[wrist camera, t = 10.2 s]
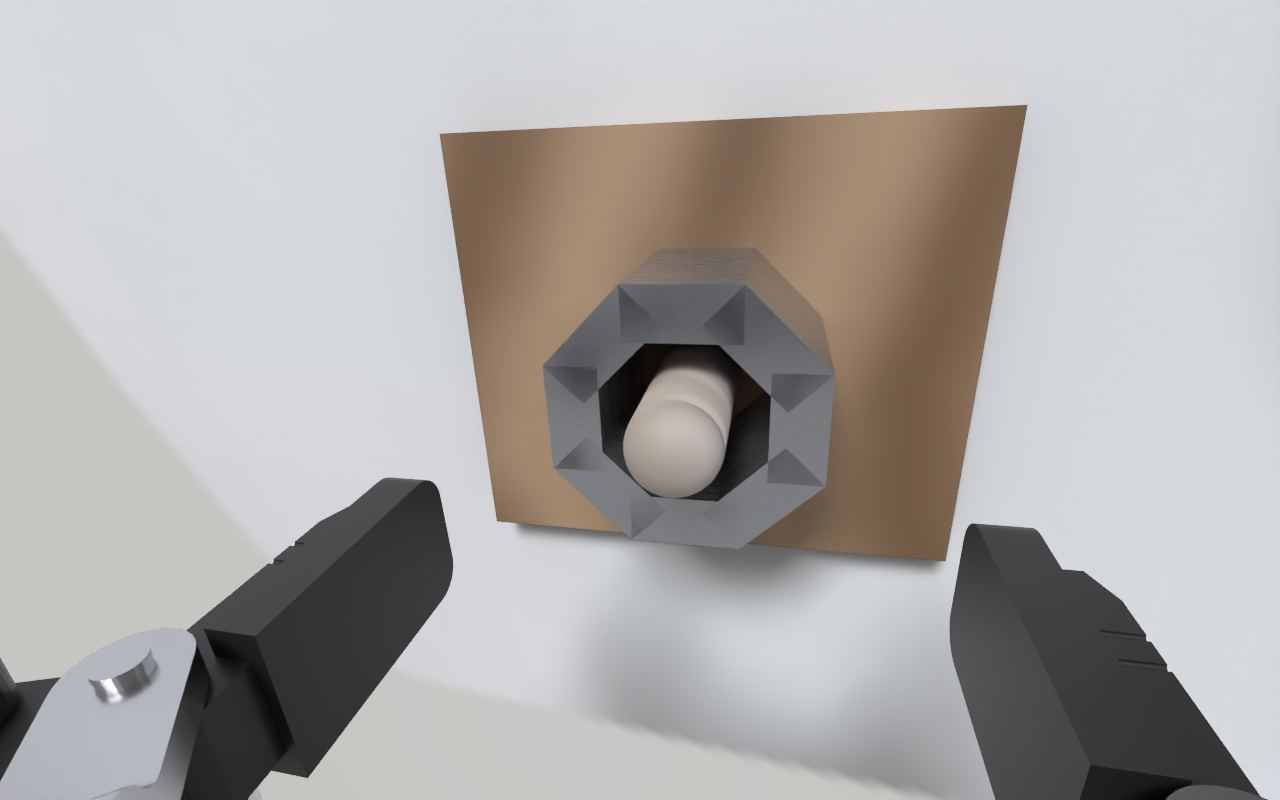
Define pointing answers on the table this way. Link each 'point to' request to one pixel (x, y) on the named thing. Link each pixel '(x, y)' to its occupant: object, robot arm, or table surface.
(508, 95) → the table surface
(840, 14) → the table surface
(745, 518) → the ring
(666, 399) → the post stand
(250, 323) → the table surface
